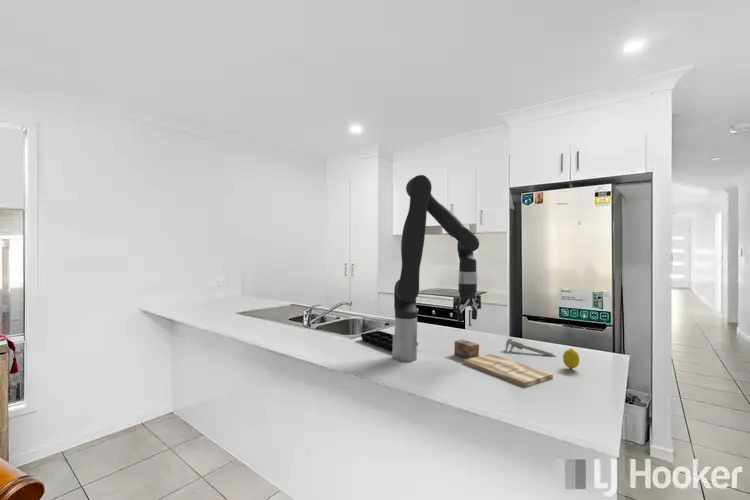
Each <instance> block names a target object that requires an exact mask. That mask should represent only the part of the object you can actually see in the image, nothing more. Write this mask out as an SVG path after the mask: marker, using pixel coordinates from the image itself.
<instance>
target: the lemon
mask: <svg viewBox="0 0 750 500" xmlns="http://www.w3.org/2000/svg"><path fill="white" fill-rule="evenodd" d="M562 362H563V364H564V366H566V368H568V369H569V370H573V369H576V368H577V367H578V366H579V364H580V355H579V354H578V352H577V351H576V350H574V349H573V348H570V349H567V350H565V351H564V352H563V356H562Z"/></svg>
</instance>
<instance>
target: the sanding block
mask: <svg viewBox="0 0 750 500" xmlns="http://www.w3.org/2000/svg"><path fill="white" fill-rule="evenodd" d="M454 355H455V356H457V357H460V358H463V359H464V360H465V359H469V358H474V357H478V356H480V344H479V343H477V342H476V343H475V342H472V341H470V340H465V339H459V340H454Z"/></svg>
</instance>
